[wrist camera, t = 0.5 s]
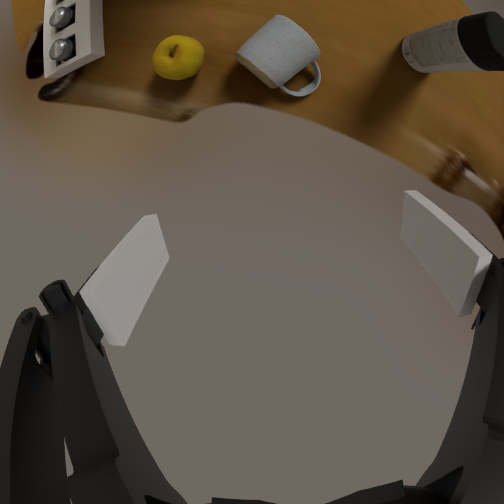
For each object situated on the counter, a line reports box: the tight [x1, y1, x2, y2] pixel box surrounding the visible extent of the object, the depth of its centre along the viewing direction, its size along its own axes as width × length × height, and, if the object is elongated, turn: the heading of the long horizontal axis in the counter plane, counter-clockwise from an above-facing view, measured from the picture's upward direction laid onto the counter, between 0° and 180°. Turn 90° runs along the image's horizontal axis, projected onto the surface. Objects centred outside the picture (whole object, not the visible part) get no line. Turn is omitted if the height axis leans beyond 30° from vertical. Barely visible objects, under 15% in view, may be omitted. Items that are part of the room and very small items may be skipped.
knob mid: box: [49, 7, 75, 29], centre depth 21 cm, size 4×4×4 cm
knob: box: [49, 38, 76, 61], centre depth 24 cm, size 4×4×4 cm
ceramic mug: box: [236, 15, 321, 96], centre depth 27 cm, size 11×8×8 cm
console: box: [43, 0, 105, 79], centre depth 23 cm, size 19×10×4 cm, turn 6°
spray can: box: [402, 12, 504, 73], centre depth 18 cm, size 7×7×20 cm
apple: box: [152, 35, 204, 80], centre depth 27 cm, size 6×6×8 cm
